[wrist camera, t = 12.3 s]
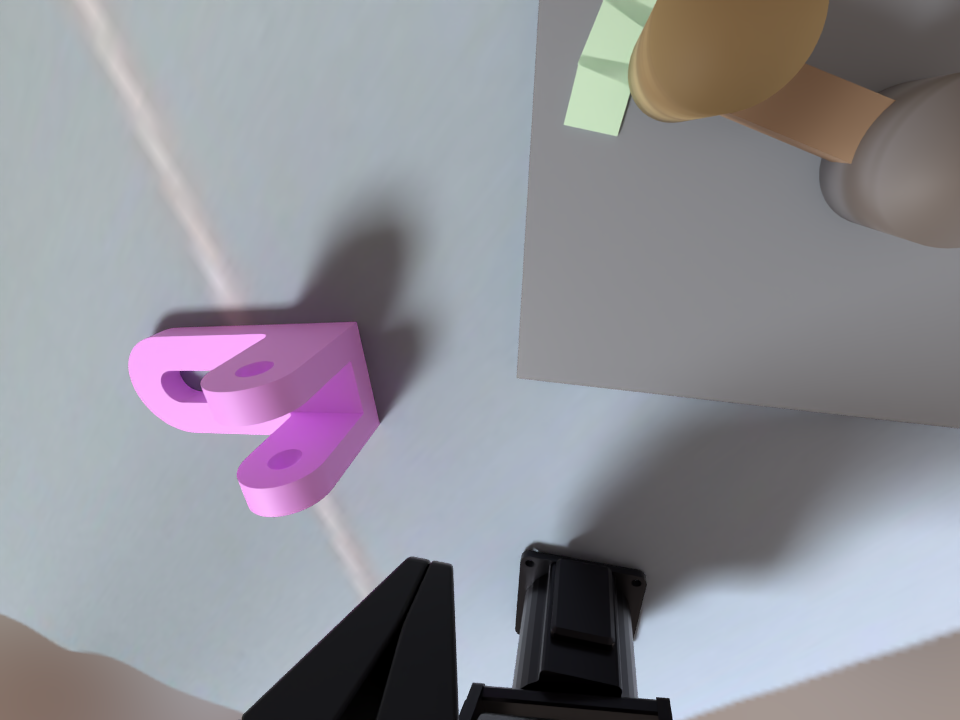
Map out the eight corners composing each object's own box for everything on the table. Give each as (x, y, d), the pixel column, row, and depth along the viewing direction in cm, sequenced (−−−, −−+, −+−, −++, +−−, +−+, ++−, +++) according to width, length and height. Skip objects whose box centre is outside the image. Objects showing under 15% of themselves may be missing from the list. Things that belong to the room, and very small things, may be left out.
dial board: (1119, 433, 17) (1155, 453, 16) (519, 368, 21) (515, 380, 20) (1716, -388, 9) (1868, -458, 8) (557, -244, 13) (554, -279, 12)
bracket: (358, 320, 22) (267, 392, 16) (380, 422, 24) (309, 519, 18) (134, 328, 25) (-15, 390, 19) (173, 418, 27) (52, 500, 21)
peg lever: (1018, 111, 13) (1329, 93, 8) (907, 246, 15) (1093, 308, 9) (668, -31, 13) (723, -150, 8) (602, 118, 15) (610, 106, 10)
